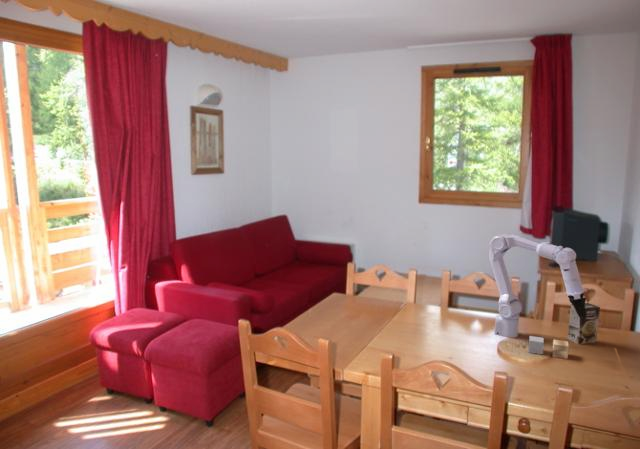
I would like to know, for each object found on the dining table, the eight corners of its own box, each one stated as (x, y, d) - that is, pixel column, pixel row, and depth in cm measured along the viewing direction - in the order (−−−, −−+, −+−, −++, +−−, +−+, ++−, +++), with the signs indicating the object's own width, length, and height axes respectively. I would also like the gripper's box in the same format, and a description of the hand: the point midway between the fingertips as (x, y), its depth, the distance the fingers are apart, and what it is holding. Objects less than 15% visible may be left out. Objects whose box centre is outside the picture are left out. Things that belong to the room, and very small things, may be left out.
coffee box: (578, 347, 193) (582, 309, 191) (566, 340, 200) (570, 303, 197) (596, 344, 196) (600, 307, 193) (584, 338, 202) (588, 302, 199)
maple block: (552, 356, 182) (553, 344, 181) (552, 351, 186) (553, 339, 186) (567, 359, 180) (568, 346, 179) (566, 353, 184) (567, 341, 184)
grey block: (528, 352, 185) (529, 340, 184) (528, 347, 190) (529, 335, 189) (542, 354, 183) (543, 342, 182) (542, 349, 188) (543, 337, 187)
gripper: (585, 280, 174) (595, 316, 173) (581, 275, 187) (591, 309, 186) (564, 283, 177) (573, 319, 176) (562, 278, 190) (571, 312, 189)
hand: (581, 314), depth 181 cm, fingers open, 7 cm apart
